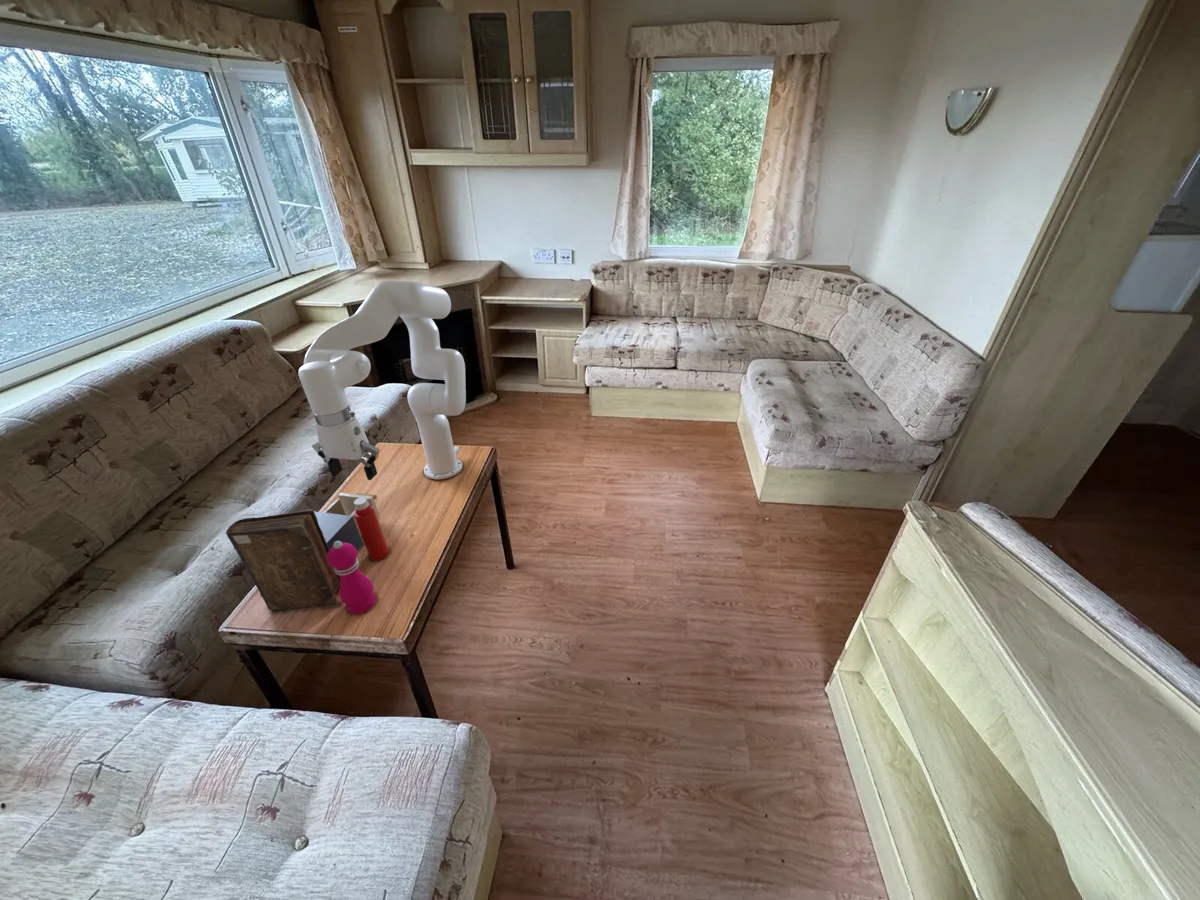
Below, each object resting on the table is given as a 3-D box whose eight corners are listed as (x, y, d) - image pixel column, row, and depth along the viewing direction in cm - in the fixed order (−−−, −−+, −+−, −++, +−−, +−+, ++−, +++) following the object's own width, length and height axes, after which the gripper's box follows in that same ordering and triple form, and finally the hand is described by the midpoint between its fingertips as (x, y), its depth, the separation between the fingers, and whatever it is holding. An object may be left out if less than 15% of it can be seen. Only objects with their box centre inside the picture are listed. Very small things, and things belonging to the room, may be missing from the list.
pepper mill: (366, 618, 112) (340, 555, 101) (338, 613, 113) (310, 551, 103) (384, 594, 118) (361, 532, 107) (357, 590, 119) (333, 529, 109)
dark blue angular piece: (326, 539, 135) (314, 511, 130) (363, 544, 133) (352, 516, 128) (288, 577, 123) (273, 548, 118) (328, 583, 121) (315, 554, 116)
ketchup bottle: (376, 546, 132) (357, 494, 122) (392, 549, 131) (374, 496, 122) (365, 559, 128) (345, 505, 118) (382, 561, 127) (363, 507, 118)
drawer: (357, 506, 146) (349, 484, 142) (387, 510, 144) (380, 488, 140) (318, 546, 131) (307, 523, 127) (352, 550, 130) (342, 527, 125)
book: (265, 612, 114) (219, 533, 100) (280, 589, 120) (239, 511, 106) (337, 608, 114) (300, 529, 101) (348, 585, 120) (315, 508, 107)
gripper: (376, 409, 112) (394, 469, 121) (311, 404, 115) (333, 463, 124) (357, 425, 106) (378, 487, 115) (288, 420, 108) (314, 480, 118)
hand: (355, 475), depth 119 cm, fingers open, 9 cm apart
